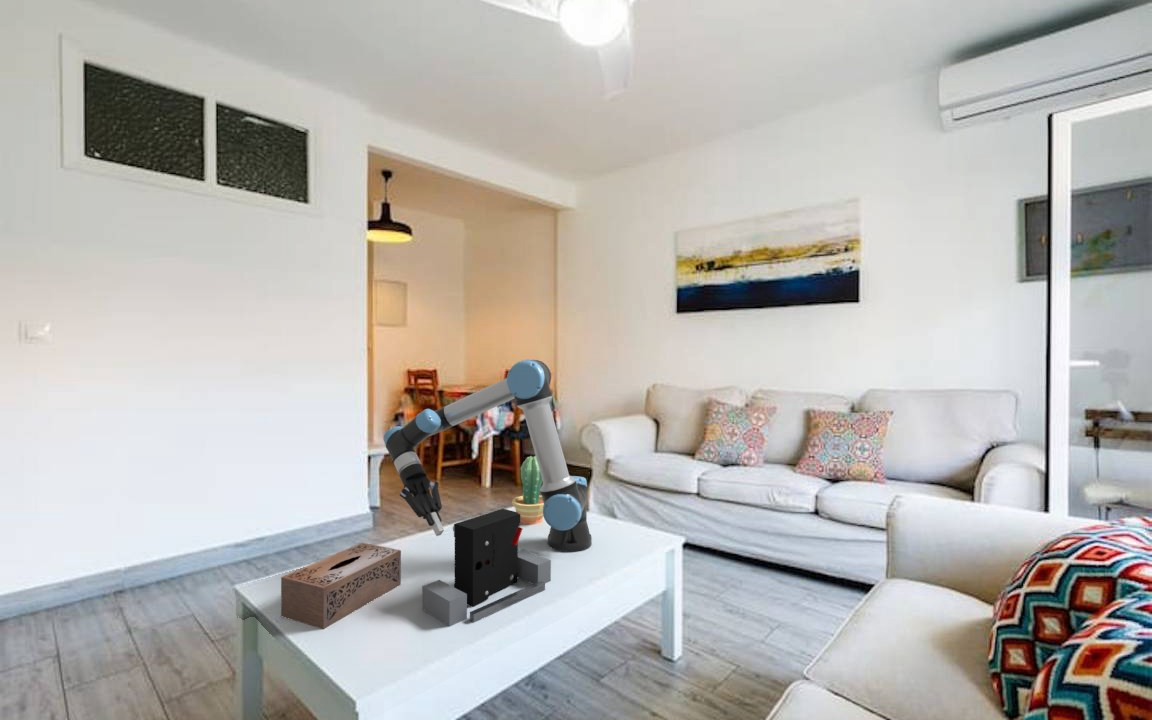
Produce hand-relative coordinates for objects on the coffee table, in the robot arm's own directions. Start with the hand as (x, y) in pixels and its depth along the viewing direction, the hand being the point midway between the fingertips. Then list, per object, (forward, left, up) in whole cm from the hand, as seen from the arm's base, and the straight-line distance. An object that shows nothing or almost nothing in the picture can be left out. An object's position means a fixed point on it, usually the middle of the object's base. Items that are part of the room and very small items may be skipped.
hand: (440, 533), depth 156 cm
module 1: (+14, +23, -11) cm, 29 cm away
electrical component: (-2, +21, -11) cm, 24 cm away
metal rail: (-1, +31, -11) cm, 33 cm away
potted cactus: (-51, -15, -11) cm, 54 cm away
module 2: (-15, +23, -11) cm, 30 cm away
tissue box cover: (+27, -2, -12) cm, 30 cm away
